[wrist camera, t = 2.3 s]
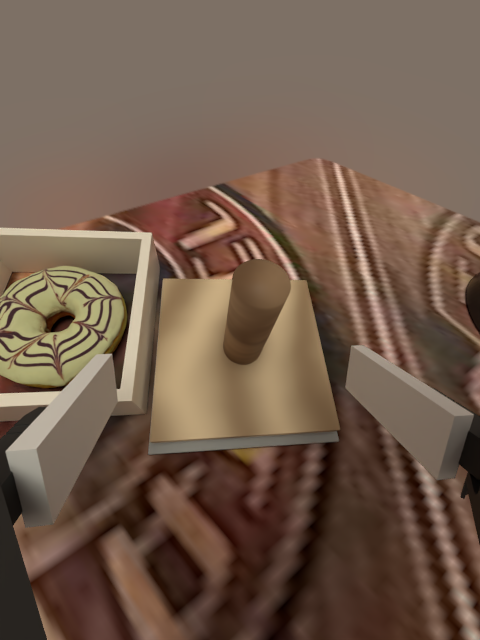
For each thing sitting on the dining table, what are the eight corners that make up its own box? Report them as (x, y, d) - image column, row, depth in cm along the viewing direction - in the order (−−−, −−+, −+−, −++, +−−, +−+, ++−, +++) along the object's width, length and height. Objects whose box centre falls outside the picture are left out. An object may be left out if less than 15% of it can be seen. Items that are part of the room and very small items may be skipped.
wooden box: (160, 268, 29) (151, 232, 24) (146, 414, 22) (131, 401, 17) (6, 265, 27) (-33, 226, 22) (-64, 424, 20) (-141, 412, 15)
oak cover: (302, 287, 29) (348, 203, 20) (333, 431, 22) (426, 406, 13) (164, 285, 27) (143, 192, 18) (152, 443, 20) (106, 423, 11)
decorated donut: (-28, 364, 22) (-68, 346, 19) (59, 271, 27) (39, 245, 24) (83, 411, 21) (61, 401, 18) (151, 307, 27) (143, 284, 23)
